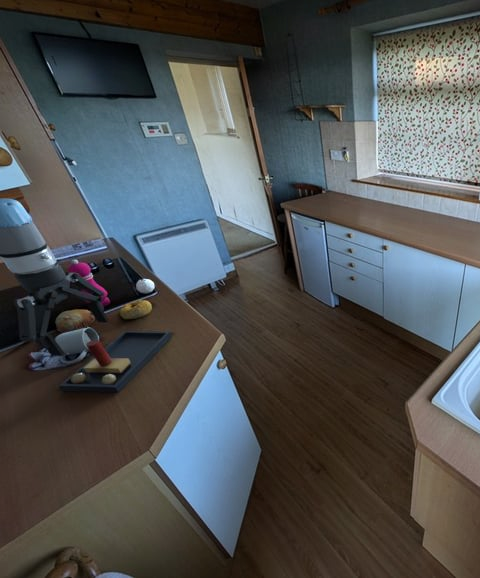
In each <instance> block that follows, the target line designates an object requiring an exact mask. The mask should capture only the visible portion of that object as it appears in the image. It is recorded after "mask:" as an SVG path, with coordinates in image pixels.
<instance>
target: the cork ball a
mask: <svg viewBox="0 0 480 578" xmlns="http://www.w3.org/2000/svg"><path fill="white" fill-rule="evenodd" d="M72 375H73V374H72ZM85 380H86V375H85V374H83V373H77V374H75V375H73V376H72V378H71V381H72V383H74V384H80V383H83V382H84V381H85Z"/></svg>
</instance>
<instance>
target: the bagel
mask: <svg viewBox="0 0 480 578" xmlns="http://www.w3.org/2000/svg"><path fill="white" fill-rule="evenodd" d="M152 309H153V306H152V304H151V302H149V301H148V300H145V299H143V300H141V299H140V300H136V301H131V302H128V303H125V304H123V306H122V308H120V309H119V315H120V317H121V318H122V319H124V320H132V319H133V320H134V319H140V318H143V317H145V316H147V315H148V314H150V313H151V312H152Z"/></svg>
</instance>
